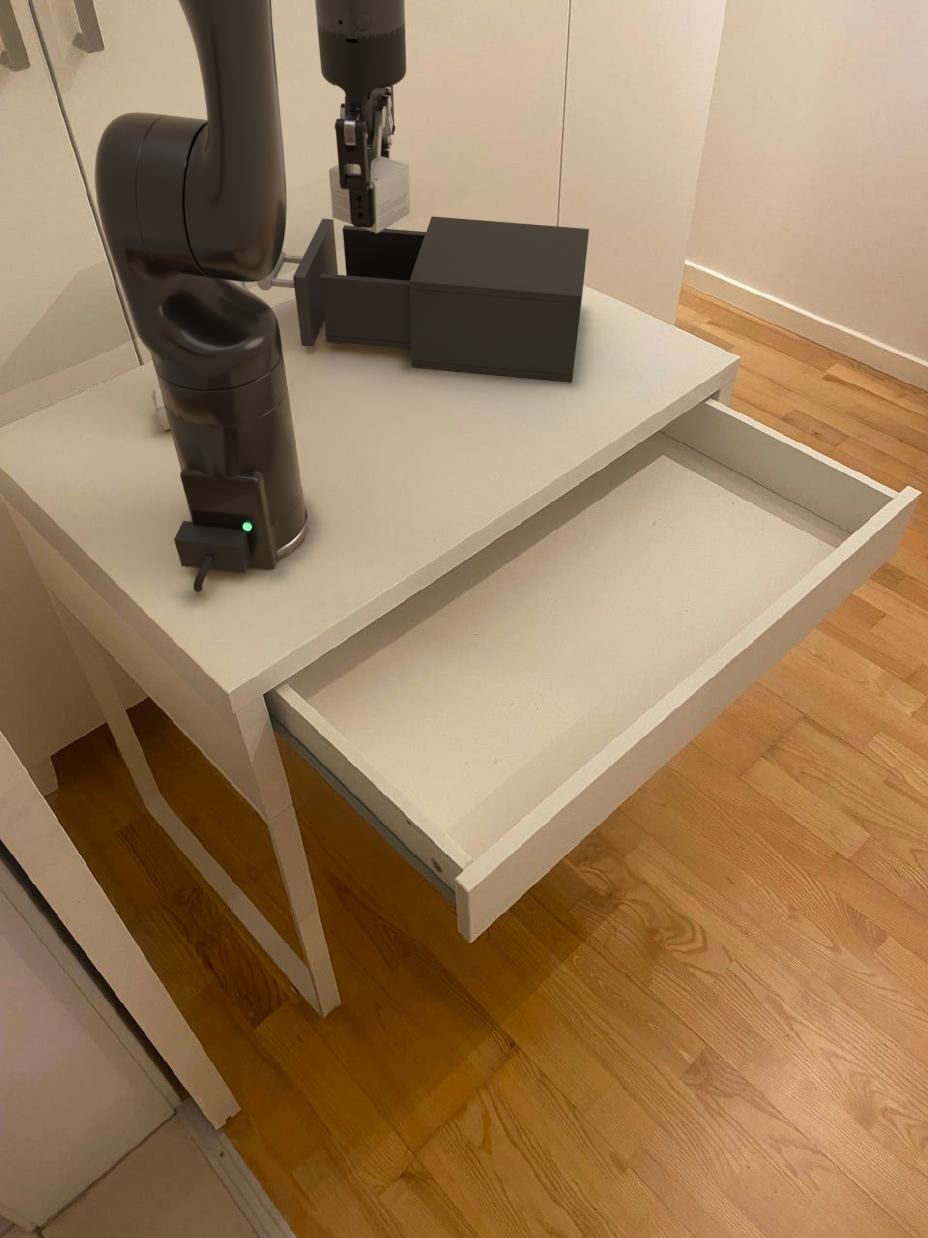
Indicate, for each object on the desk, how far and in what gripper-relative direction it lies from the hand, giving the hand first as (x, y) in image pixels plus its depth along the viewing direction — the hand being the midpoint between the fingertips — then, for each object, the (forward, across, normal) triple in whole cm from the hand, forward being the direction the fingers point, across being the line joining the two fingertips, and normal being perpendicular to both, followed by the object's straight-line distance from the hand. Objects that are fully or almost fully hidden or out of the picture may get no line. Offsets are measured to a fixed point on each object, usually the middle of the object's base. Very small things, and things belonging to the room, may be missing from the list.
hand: (371, 206), depth 94 cm
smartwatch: (+14, +20, -16) cm, 29 cm away
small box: (+1, 0, 0) cm, 1 cm away
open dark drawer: (+12, 0, -2) cm, 13 cm away
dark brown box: (+13, 0, +13) cm, 19 cm away
